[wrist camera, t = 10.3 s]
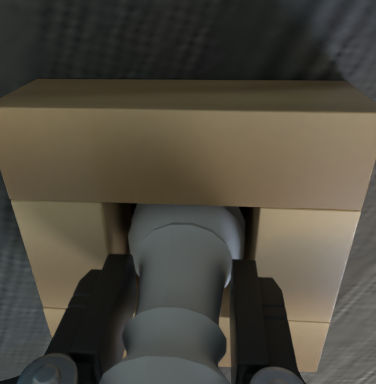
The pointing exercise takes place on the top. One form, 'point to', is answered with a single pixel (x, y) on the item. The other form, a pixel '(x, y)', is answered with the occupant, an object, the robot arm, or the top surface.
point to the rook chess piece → (179, 293)
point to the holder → (192, 179)
